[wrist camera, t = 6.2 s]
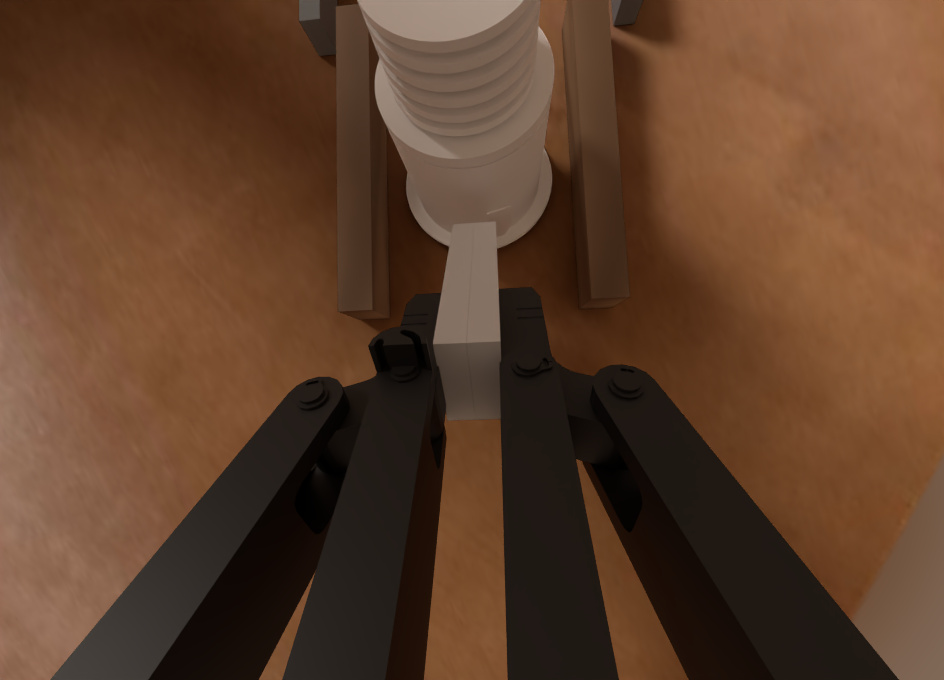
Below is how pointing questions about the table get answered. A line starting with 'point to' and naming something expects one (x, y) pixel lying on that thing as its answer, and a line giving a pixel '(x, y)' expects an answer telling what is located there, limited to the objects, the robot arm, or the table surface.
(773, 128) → the table surface
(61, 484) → the table surface
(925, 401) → the table surface
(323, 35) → the open frame
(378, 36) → the downlight
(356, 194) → the slot
